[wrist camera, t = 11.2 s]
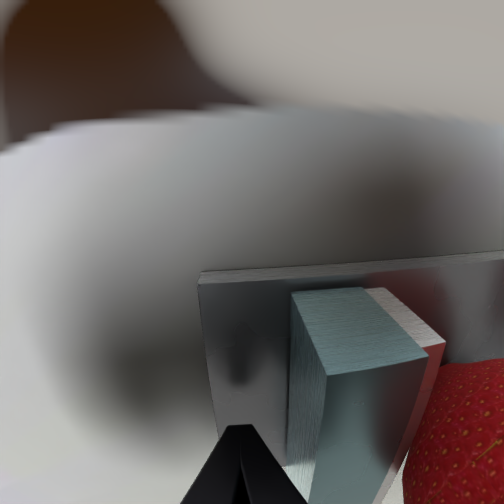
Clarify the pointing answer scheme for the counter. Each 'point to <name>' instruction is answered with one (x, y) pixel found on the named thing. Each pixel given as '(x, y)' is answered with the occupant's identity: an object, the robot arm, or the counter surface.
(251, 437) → the robot arm
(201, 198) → the counter surface
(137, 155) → the counter surface
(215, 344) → the vise
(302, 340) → the block
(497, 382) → the strawberry
